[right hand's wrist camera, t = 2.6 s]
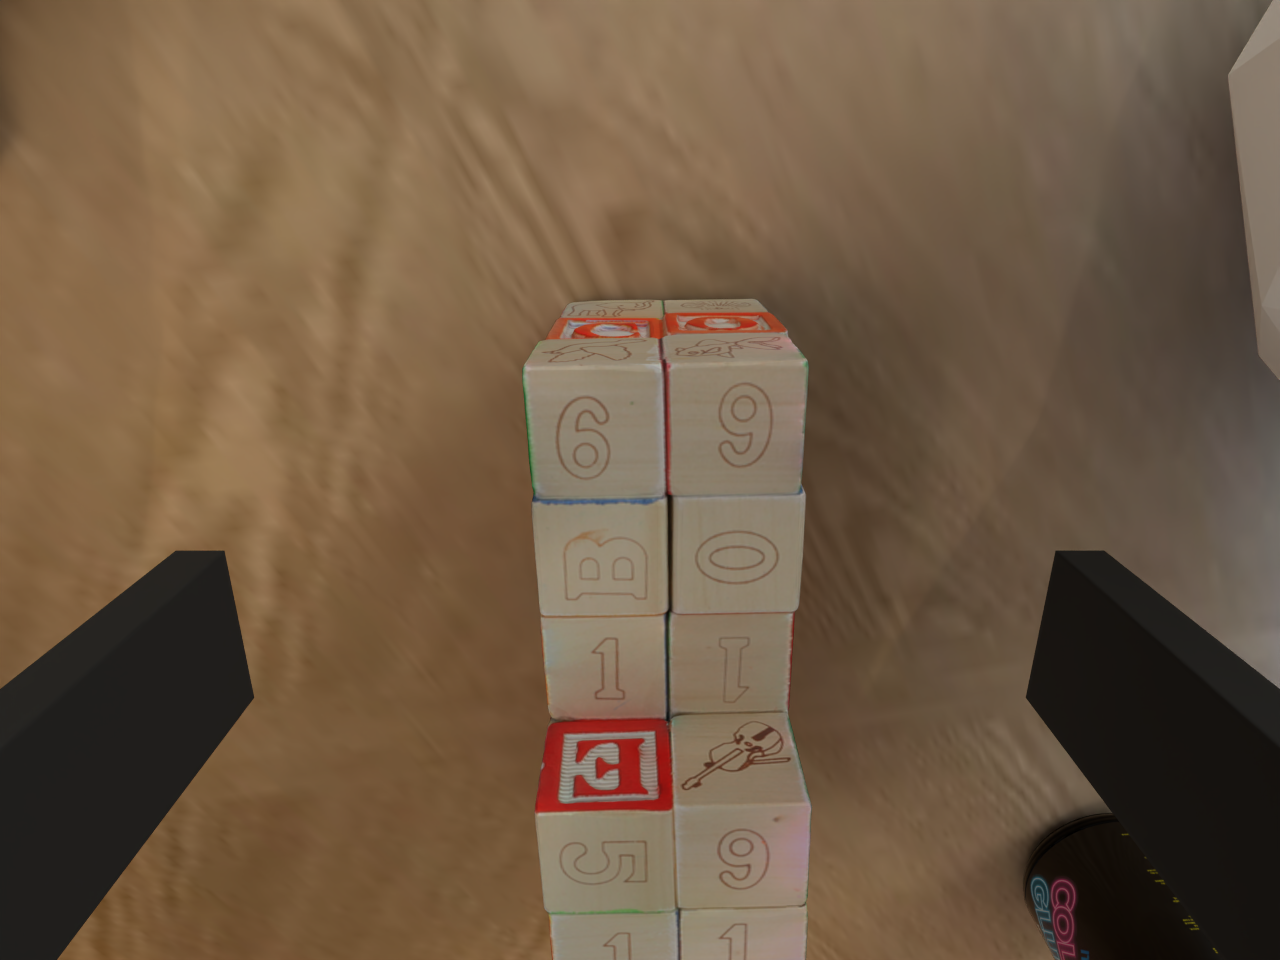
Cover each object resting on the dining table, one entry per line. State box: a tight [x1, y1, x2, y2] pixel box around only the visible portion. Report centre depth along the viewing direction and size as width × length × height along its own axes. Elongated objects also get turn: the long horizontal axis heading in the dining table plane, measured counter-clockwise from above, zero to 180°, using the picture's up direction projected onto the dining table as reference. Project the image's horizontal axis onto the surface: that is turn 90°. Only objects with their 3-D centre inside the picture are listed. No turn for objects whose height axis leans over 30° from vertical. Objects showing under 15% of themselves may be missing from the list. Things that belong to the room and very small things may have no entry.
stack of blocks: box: [522, 299, 812, 960], centre depth 23 cm, size 21×6×12 cm, turn 1°
